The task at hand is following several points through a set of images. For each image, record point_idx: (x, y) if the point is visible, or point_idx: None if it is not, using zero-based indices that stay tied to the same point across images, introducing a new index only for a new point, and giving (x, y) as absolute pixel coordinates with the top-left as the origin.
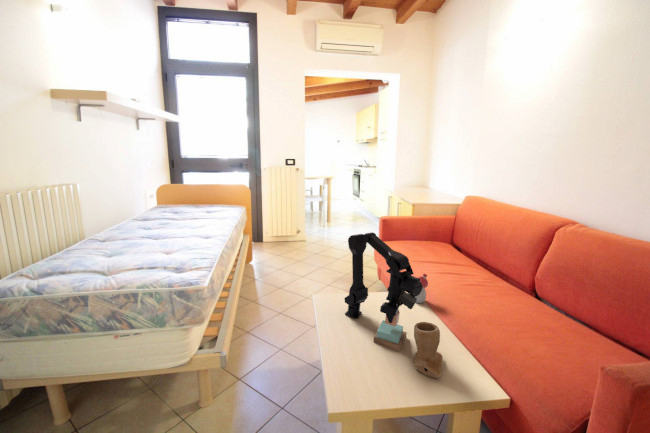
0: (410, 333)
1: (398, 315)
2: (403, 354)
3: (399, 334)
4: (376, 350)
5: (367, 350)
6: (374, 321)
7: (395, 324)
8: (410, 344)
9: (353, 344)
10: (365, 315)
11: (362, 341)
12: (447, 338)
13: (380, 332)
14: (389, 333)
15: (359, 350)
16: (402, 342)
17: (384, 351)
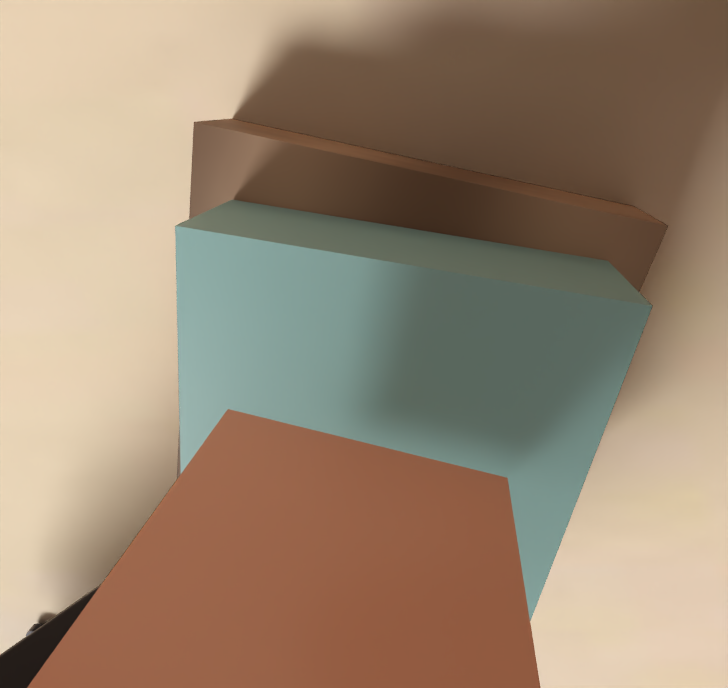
0: (90, 48)
1: (245, 636)
2: (705, 138)
3: (535, 299)
4: (677, 485)
5: (696, 568)
6: (103, 514)
7: (511, 525)
8: (393, 31)
9: (615, 676)
10: (52, 591)
11: (536, 610)
12: None
13: (537, 585)
14: (553, 475)
15: (712, 632)
16: (484, 181)
17: (679, 400)
